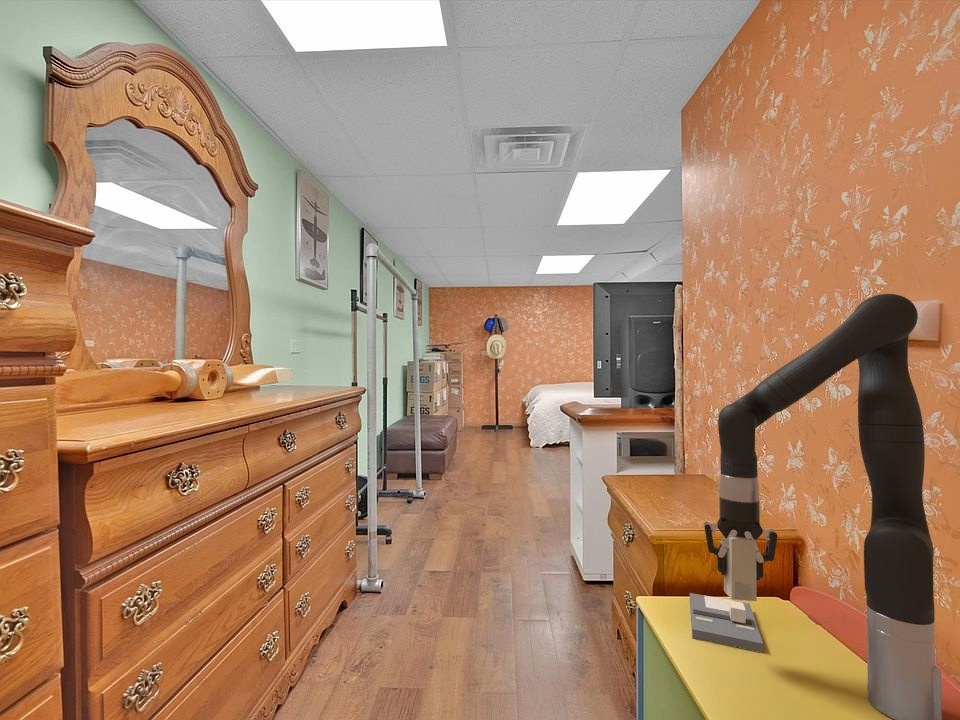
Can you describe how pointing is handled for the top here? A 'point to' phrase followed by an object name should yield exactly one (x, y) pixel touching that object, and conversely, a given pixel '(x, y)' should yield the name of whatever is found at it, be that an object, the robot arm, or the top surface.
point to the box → (740, 569)
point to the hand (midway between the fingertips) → (740, 576)
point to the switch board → (723, 623)
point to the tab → (737, 611)
